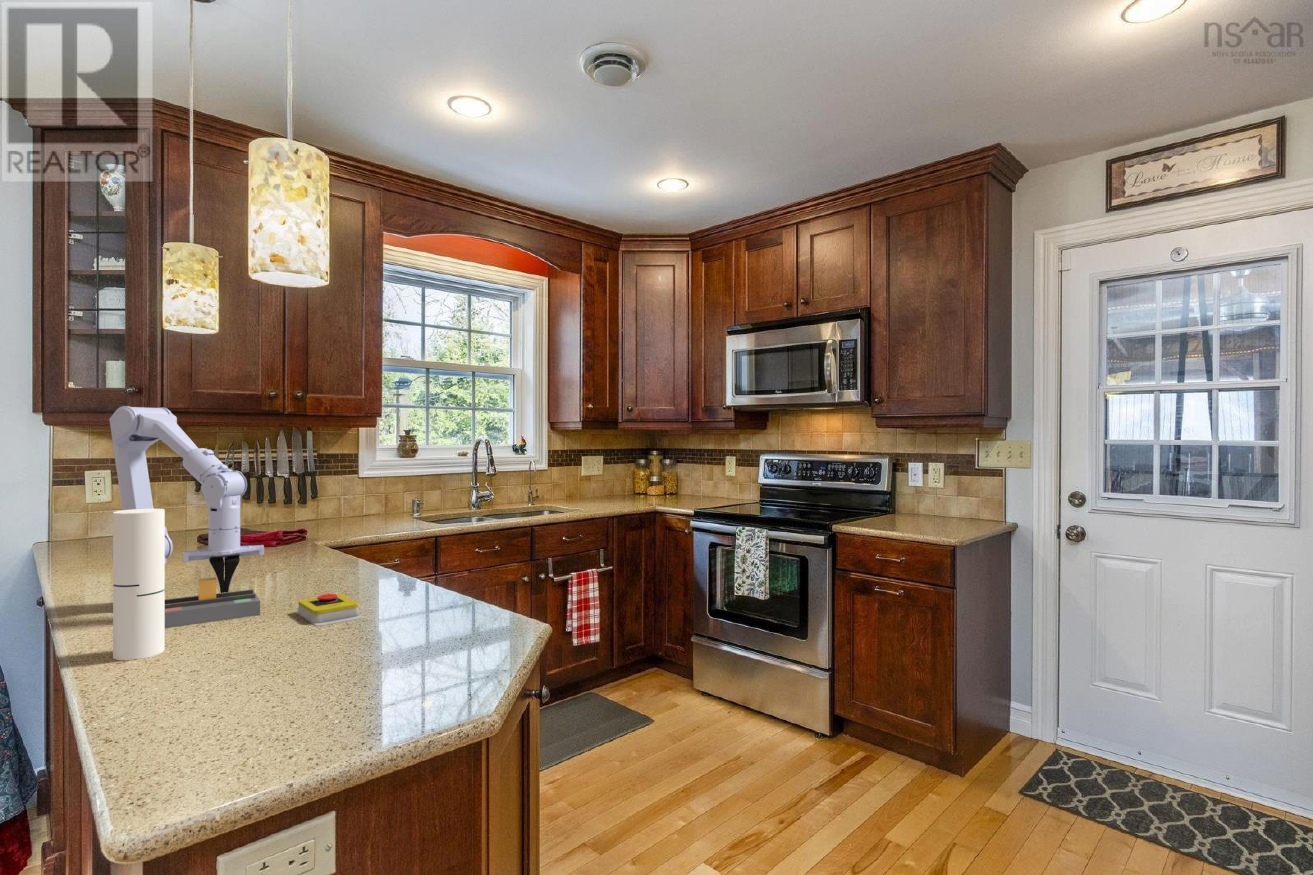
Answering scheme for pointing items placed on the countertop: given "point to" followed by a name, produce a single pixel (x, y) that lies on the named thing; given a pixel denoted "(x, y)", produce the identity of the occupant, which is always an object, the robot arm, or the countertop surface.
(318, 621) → the emergency button
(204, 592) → the knob
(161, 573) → the cylindrical container
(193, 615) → the switch panel
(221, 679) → the countertop surface
